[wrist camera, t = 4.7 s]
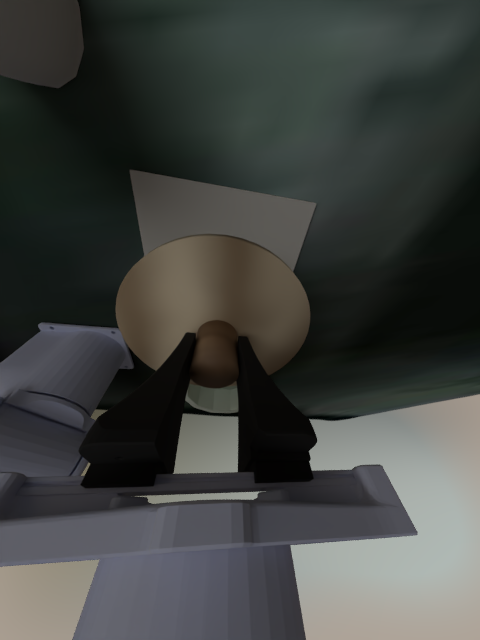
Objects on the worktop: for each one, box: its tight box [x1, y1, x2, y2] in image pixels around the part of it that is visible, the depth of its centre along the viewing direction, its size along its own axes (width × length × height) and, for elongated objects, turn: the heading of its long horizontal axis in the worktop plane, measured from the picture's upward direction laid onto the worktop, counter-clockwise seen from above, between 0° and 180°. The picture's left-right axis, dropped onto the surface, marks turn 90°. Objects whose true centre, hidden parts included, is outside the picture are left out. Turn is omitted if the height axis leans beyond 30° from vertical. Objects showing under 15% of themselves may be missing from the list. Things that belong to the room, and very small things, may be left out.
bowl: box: [185, 384, 238, 413], centre depth 27 cm, size 12×12×4 cm
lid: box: [116, 234, 310, 388], centre depth 13 cm, size 14×14×4 cm
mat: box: [129, 170, 316, 271], centre depth 19 cm, size 15×15×1 cm
